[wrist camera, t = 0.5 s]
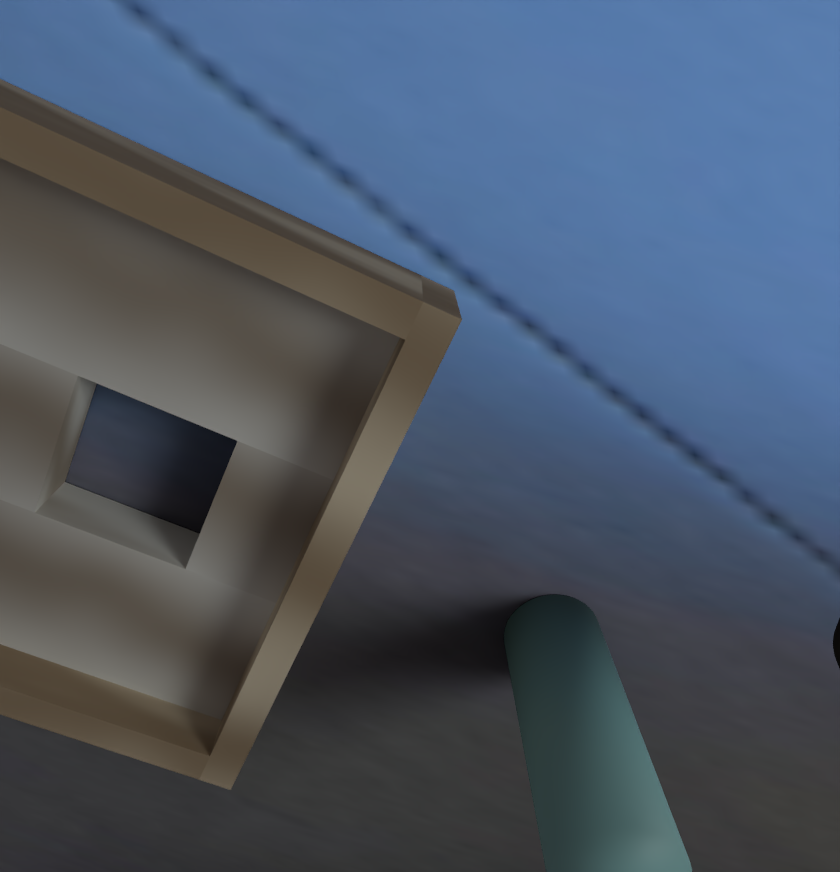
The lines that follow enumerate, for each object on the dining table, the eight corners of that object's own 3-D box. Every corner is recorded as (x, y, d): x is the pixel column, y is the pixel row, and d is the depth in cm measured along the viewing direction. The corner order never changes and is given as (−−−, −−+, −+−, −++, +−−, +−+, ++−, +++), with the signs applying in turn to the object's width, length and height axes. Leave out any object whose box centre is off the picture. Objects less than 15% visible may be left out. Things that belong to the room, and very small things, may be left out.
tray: (252, 709, 26) (230, 789, 23) (-232, 540, 24) (-333, 605, 21) (453, 290, 21) (461, 319, 18) (-140, 13, 18) (-256, -11, 15)
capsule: (570, 686, 26) (644, 945, 18) (487, 654, 26) (524, 905, 17) (617, 615, 25) (719, 855, 17) (531, 580, 25) (594, 811, 16)
